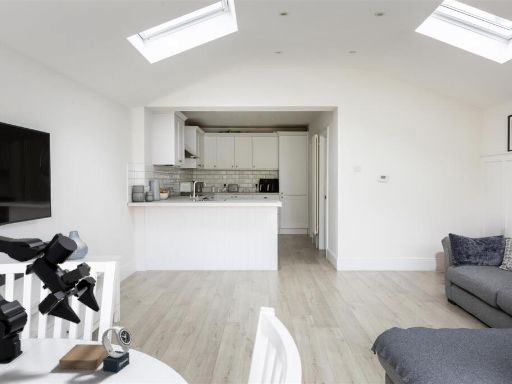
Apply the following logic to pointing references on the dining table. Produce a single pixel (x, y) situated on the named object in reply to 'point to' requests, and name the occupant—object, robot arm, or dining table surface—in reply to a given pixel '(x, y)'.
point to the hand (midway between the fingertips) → (89, 316)
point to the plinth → (83, 357)
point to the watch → (116, 358)
